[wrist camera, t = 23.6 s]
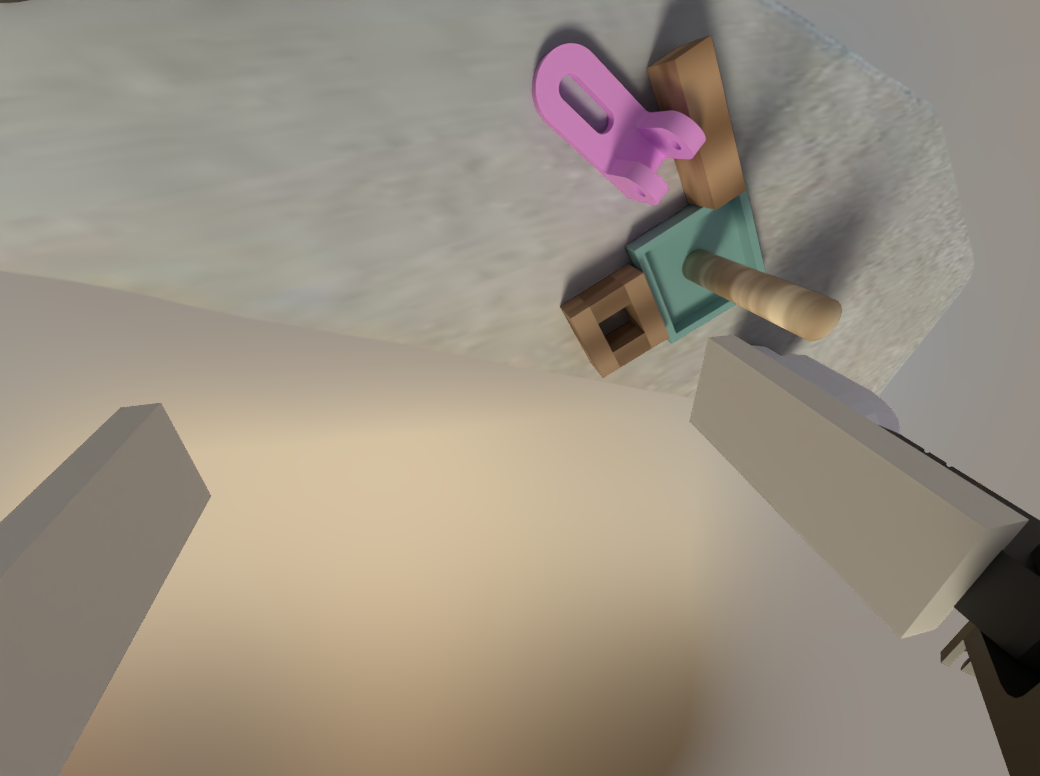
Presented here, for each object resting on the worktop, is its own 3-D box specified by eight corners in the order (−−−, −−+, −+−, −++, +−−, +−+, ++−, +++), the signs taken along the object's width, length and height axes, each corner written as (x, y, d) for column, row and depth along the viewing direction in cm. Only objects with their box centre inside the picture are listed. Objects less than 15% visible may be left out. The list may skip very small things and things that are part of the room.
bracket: (668, 142, 39) (714, 143, 33) (627, 198, 40) (664, 208, 34) (559, 27, 33) (591, 3, 27) (518, 98, 34) (539, 89, 29)
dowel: (679, 281, 45) (794, 342, 31) (685, 250, 43) (809, 300, 30) (706, 279, 45) (831, 339, 32) (713, 248, 44) (848, 297, 30)
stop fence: (646, 68, 35) (674, 59, 31) (678, 46, 35) (711, 35, 31) (687, 203, 41) (715, 209, 38) (715, 185, 41) (746, 190, 37)
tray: (624, 245, 42) (634, 250, 40) (729, 178, 41) (744, 180, 39) (661, 335, 48) (671, 343, 46) (754, 279, 47) (768, 284, 45)
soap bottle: (797, 345, 53) (1036, 473, 33) (749, 413, 57) (935, 564, 37) (736, 322, 50) (962, 451, 29) (690, 397, 54) (860, 554, 33)
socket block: (559, 306, 44) (570, 318, 41) (627, 263, 43) (643, 272, 40) (591, 363, 48) (602, 377, 45) (653, 325, 47) (669, 337, 44)
